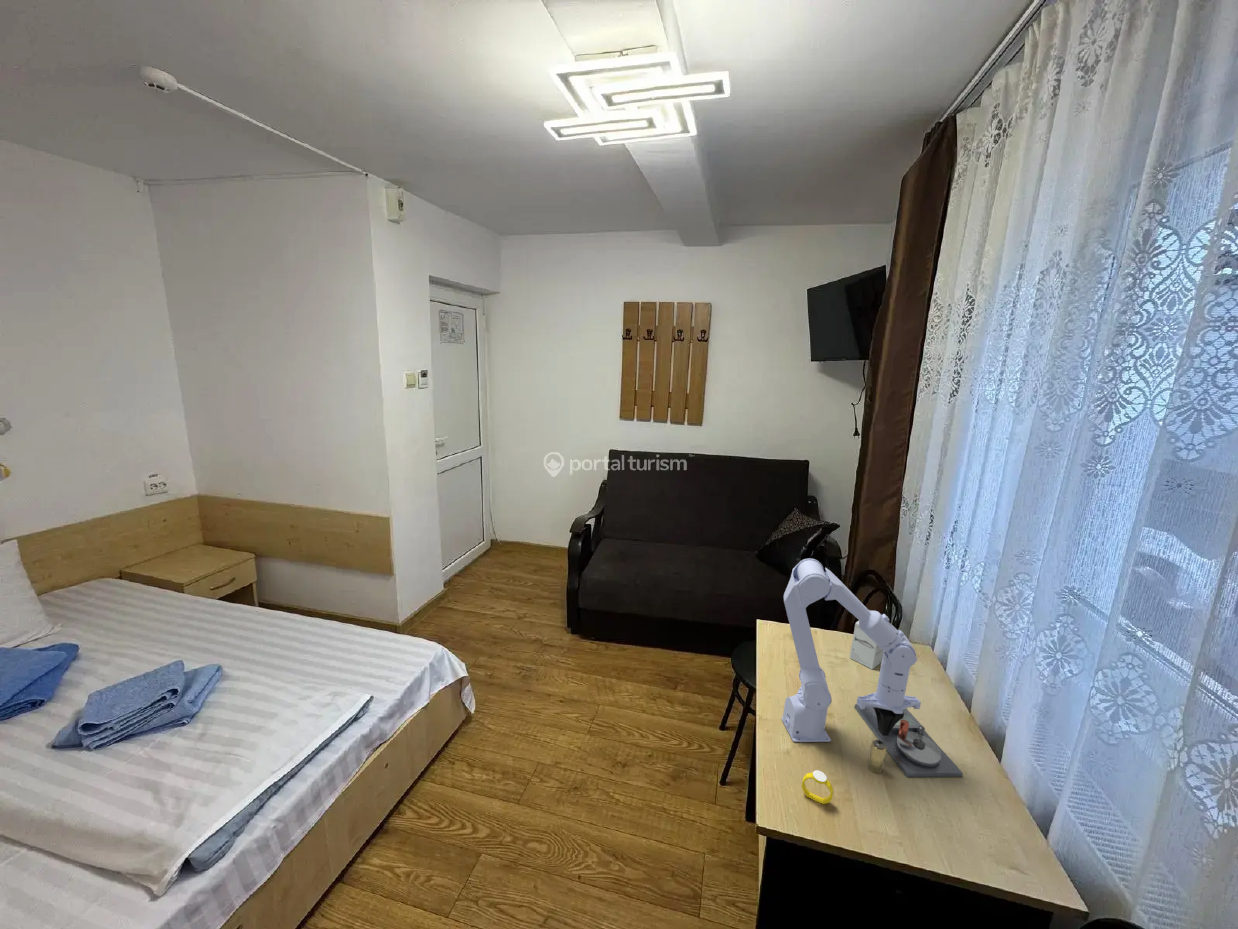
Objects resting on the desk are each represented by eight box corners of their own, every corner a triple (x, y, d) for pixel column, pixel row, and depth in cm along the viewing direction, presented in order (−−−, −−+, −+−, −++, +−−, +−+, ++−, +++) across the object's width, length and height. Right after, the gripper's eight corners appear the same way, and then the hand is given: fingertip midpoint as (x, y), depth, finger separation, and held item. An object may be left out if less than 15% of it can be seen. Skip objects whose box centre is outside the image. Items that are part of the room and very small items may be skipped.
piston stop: (872, 773, 107) (876, 749, 106) (864, 762, 110) (869, 738, 109) (884, 773, 108) (889, 749, 106) (877, 762, 110) (881, 738, 109)
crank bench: (906, 777, 107) (909, 762, 106) (854, 707, 128) (856, 694, 127) (961, 776, 108) (965, 761, 107) (900, 707, 129) (902, 694, 128)
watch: (830, 801, 100) (836, 778, 99) (828, 811, 98) (835, 788, 97) (801, 786, 103) (806, 764, 102) (798, 796, 101) (804, 773, 99)
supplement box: (848, 658, 150) (854, 622, 148) (859, 650, 155) (865, 615, 152) (872, 670, 145) (878, 633, 142) (883, 662, 149) (889, 625, 147)
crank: (944, 752, 113) (949, 732, 112) (934, 773, 107) (938, 752, 105) (902, 730, 119) (906, 711, 118) (890, 749, 113) (894, 729, 112)
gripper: (872, 694, 108) (863, 745, 111) (933, 694, 109) (922, 745, 111) (855, 674, 115) (847, 723, 117) (913, 674, 115) (903, 723, 118)
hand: (883, 732), depth 115 cm, fingers closed
